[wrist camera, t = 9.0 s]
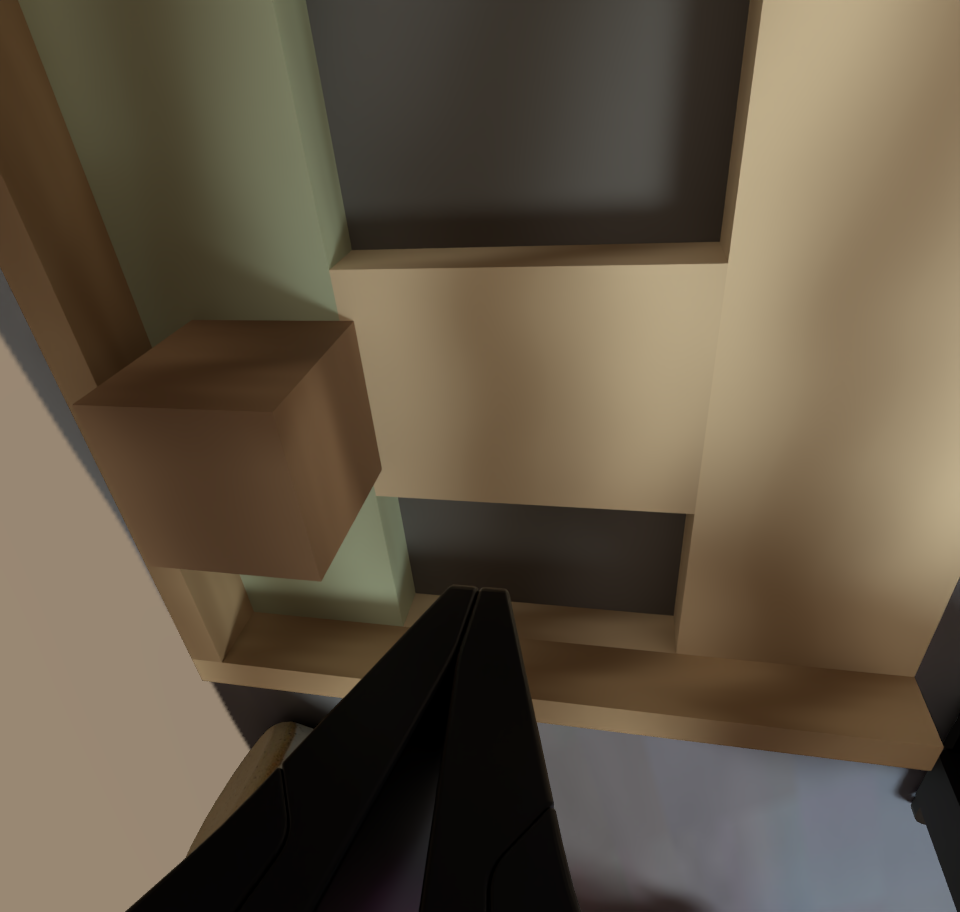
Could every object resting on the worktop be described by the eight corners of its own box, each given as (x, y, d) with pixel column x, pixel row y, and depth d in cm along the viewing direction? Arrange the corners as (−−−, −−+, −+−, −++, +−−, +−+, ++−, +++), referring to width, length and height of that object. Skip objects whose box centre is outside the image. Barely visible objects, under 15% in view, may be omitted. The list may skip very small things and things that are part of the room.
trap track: (1211, -207, 9) (1519, -321, 6) (880, 642, 19) (930, 771, 16) (30, -48, 13) (-163, -67, 10) (262, 586, 23) (202, 680, 20)
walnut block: (353, 320, 14) (272, 412, 11) (381, 469, 17) (321, 581, 13) (191, 320, 15) (71, 405, 12) (239, 462, 17) (149, 566, 14)
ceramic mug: (298, 679, 26) (192, 890, 20) (467, 772, 28) (416, 995, 21) (218, 770, 32) (119, 953, 26) (360, 842, 34) (297, 1032, 28)
